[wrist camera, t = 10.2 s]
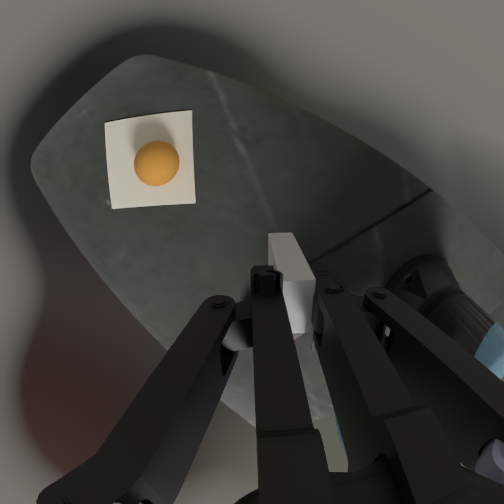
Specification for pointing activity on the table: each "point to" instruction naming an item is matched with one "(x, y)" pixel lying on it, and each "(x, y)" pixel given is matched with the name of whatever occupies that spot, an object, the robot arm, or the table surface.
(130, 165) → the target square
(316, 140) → the table surface
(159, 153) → the ball
